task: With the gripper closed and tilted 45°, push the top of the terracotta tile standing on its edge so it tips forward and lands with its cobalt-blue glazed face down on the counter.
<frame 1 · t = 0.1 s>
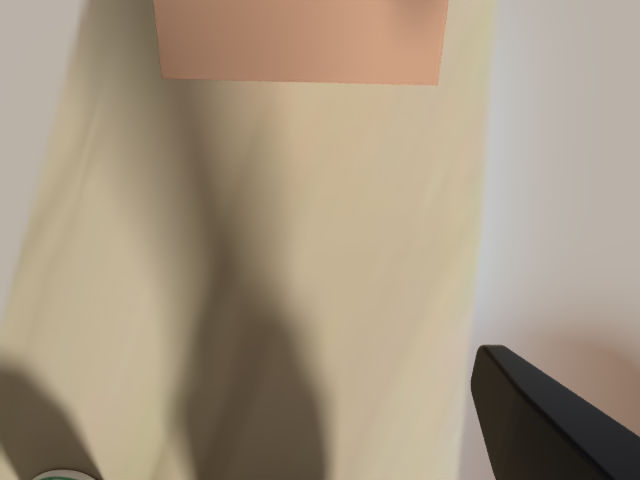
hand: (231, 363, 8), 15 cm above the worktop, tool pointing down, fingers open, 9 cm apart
tile: (302, 34, 19), on the worktop
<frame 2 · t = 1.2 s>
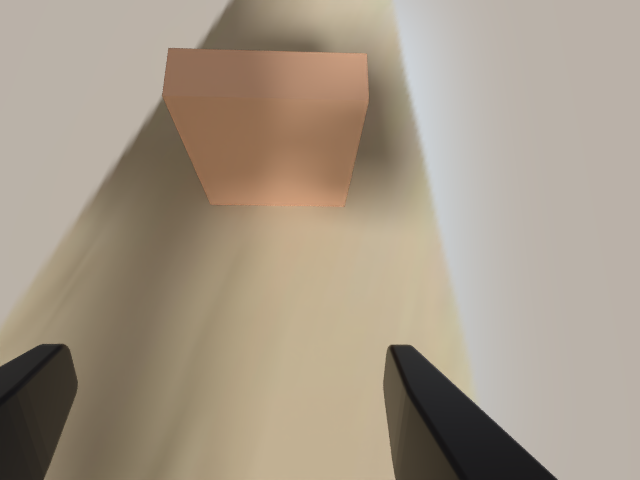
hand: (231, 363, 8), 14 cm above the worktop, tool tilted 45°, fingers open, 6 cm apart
tile: (278, 188, 24), on the worktop
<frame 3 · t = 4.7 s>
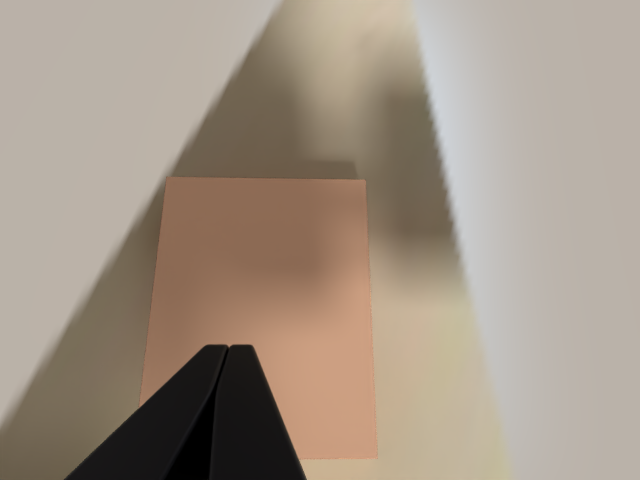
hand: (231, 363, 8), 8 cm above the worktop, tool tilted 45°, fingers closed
tile: (259, 455, 14), point 1 cm above the worktop, tilted 90°
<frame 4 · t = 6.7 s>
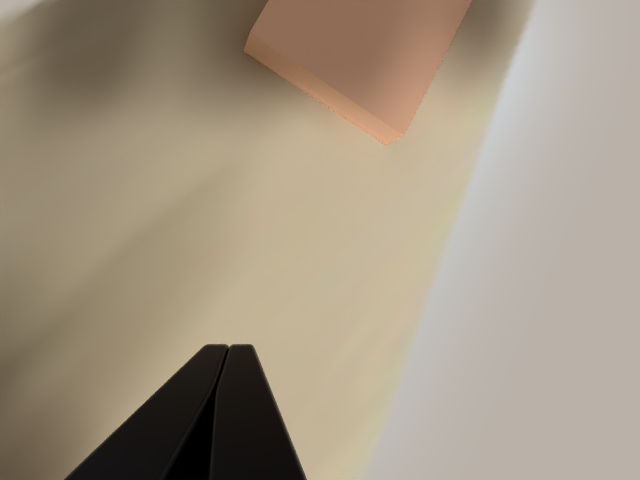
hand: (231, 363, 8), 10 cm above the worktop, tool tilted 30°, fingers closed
tile: (322, 95, 18), point 1 cm above the worktop, tilted 90°
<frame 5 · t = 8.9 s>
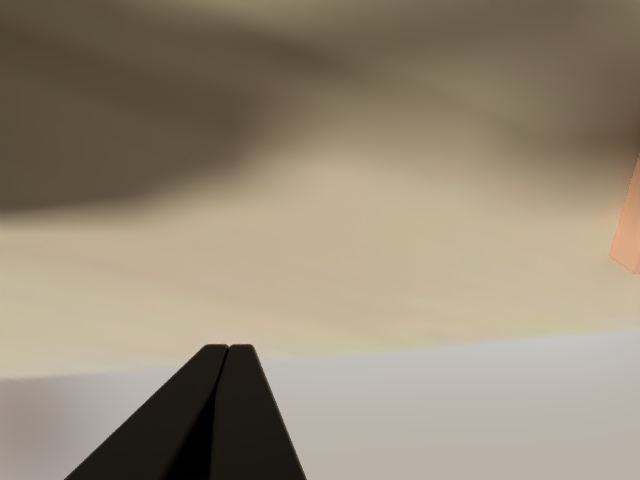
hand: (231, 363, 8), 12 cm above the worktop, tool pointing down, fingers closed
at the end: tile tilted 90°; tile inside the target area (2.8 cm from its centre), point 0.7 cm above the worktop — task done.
